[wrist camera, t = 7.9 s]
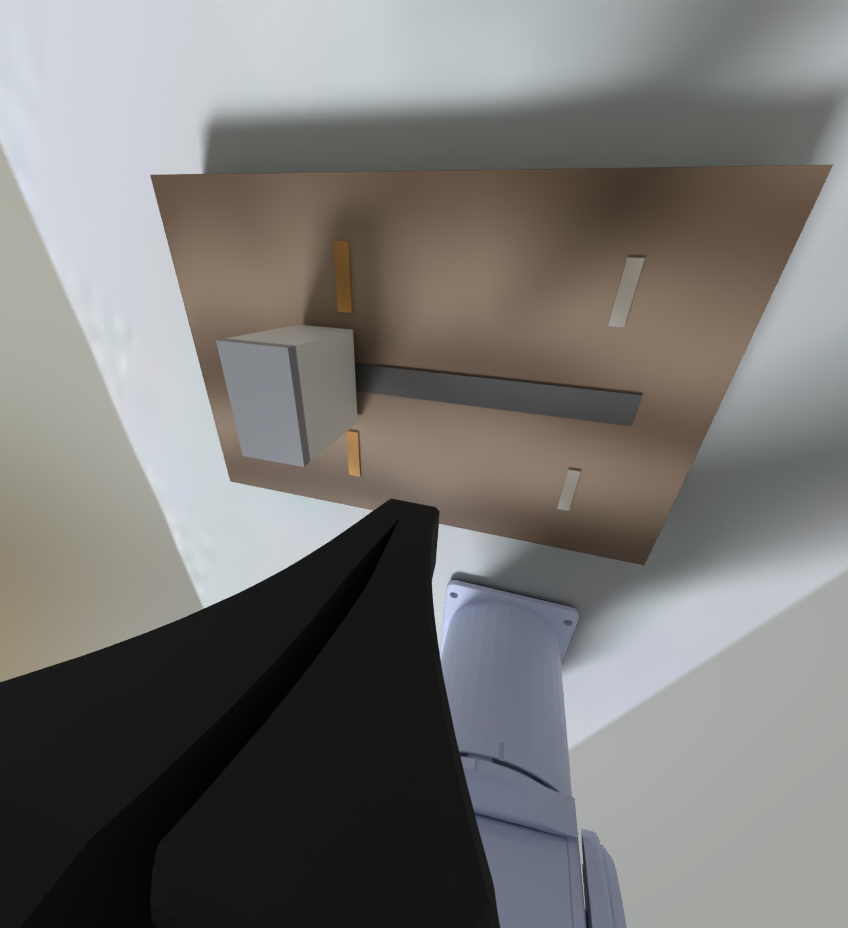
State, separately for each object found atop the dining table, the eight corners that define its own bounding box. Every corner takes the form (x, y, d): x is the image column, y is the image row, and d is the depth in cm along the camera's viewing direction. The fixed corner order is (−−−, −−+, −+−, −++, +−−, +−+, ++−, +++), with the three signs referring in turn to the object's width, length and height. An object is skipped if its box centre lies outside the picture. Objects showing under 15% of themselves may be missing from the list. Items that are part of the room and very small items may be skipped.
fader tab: (357, 422, 16) (304, 467, 12) (308, 415, 16) (242, 455, 13) (352, 329, 14) (287, 347, 10) (297, 324, 14) (215, 340, 11)
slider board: (630, 530, 18) (644, 566, 16) (258, 461, 22) (229, 482, 20) (774, 186, 11) (836, 163, 9) (202, 189, 16) (148, 174, 13)
